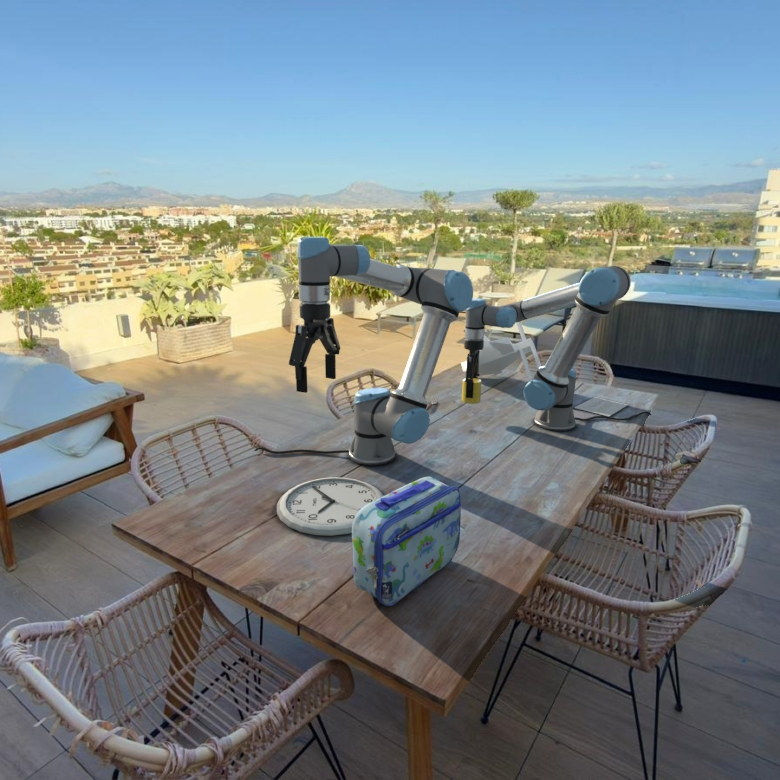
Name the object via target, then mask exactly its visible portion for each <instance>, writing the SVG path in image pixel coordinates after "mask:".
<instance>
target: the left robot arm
mask: <svg viewBox="0 0 780 780" xmlns="http://www.w3.org/2000/svg"><path fill="white" fill-rule="evenodd" d="M296 257H297V270H298V271H297V272H298V300H299V301H300V303H299V317H300V319H302V320H303V325H302V324H301V325H300V324H296V325H295V332H294V333H295V335H294V339H293V343H292V348H291V352H290V356H289V361H288V365H289V366H292V367H294V371H295V386H296V388H295V389H296V392H299V393H305V394H306V393H308V368H307V366H306V363H307V360H308V357H309V354H310V352H311V349H312V348H313V345H314V344H316V341H318V340H319V341H320V343H321V344H322V346H323V348H324V350H325V352H326V353H325V354H324V361H325V362H324V363H325V364H324V365H325V378H326V379H330V380H336V379H337V378H336V376H337V374H336V373H337V371H336V369H337V366H336V363H337V362H336V361H337V360H336V355H340V350H341V345H340V342H339V337H338V335H337V332H336V328H335V320H334V318H332V317H331V304H330V300H331V289H330V285H331V278H332V277H335V278H339V279H342V280H346V281H351V282H354V283H359V284H361V285H365V286H369V287H374V288H377V289H380V290H385V291H388V292H390V293H391V294H392V295H393V296H395V297H398V298H402V299H405V300H407V301H410V302H413V303H416V304H419V305H421V306H420V308H421V311H422V313H423V316H422V318H421V321H420V323H419V327H418V330H417V333H416V335H415V339H414V341H413V344H412V347H411V350H410V352H409V356H408V359H407V362H406V365H405V367H404V370H403V373H402V376H401V379H400V382H399V385H398V387H397V388H396V389H393V390H392V391H391V390H390V389H389V388H386V387H369V388H363V389H360V390H358V391H357V392H356V393H355V394H354V401H353V415H354V417H353V419H354V420H353V421H354V435H353V438H352V441H351V443H350V447H349V449H344V450H343V449H341V450H315V449H304V448H303V449H302V448H301V449H292V450H291V449H289V450H280V451H279V450H278V451H276V450H271V449H269V448H266V447H264V446H258V447H256V448H254V450H253V452H258V451H259V450H263V451H265V452H267V453H269V454H275V455H276V454H277V455H280V454H281V455H282V454H284V455H285V454H291V453H312V454H313V453H314V454H322V455H323V454H324V455H325V454H326V455H327V454H330V455H331V454H344V453H348V457H349V459H350V461H351V462H352V463H353V462H354V463H355V464H358V465H361V466H368V467H369V466H370V467H371V466H372V467H373V466H383V465H386V464H390V463H391V462H392V461H393V460H395V458H396V448H395V445H394V443H393V440H394V441H396V442H400V443H402V444H406V445H407V444H408V445H410V444H414V443H416V442H418V441H419V440H421V439H422V438H423V437H424V436H425V434H426V433H427V431H428V430H429V427H430V423H431V419H430V414H429V412H428V410H427V411H426V409H427V408H428V406H429V405H428V401H427V399H426V396H427V393H428V390H429V386H430V384H431V381H432V378H433V375H434V373H435V369H436V367H437V364H438V360H439V357H440V354H441V352H442V349H443V346H444V343H445V340H446V337H447V334H448V331H449V328H450V325H451V324H452V323H453V322H455V321H457V320H458V318H459V315H460V313H462V312H466V309H467V308H469V306H470V305H471V302H472V299H474V298H473V297H474V287H473V284H472V280H471V279H470V277H469V275H467V274H466V273H465V272H462V271H458V270H454V269H441V268H433V267H432V268H430V267H411V266H406V265H402V264H400V265H398V266H395V265H392V264H388V263H385V262H382V261H378V260H375V259H372V258H371V254H370V251H369V249H367V247H366V246H365V245H362V244H337V243H336V244H335V243H334V244H333V243H330V240H329V238H328V237H326V236H301V237H300V238H298V240H297V255H296ZM392 439H393V440H392Z"/></svg>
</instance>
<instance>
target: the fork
mask: <svg viewBox="0 0 780 780" xmlns="http://www.w3.org/2000/svg"><path fill="white" fill-rule="evenodd" d="M438 401H439V398H438V397H435V396H433V398H432V399H431V401H430V404H429V405H427V408H426V411H427V412H428V410H429V409H431V408H432V406H433V405H437V404H438Z"/></svg>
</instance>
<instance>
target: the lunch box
mask: <svg viewBox="0 0 780 780" xmlns="http://www.w3.org/2000/svg"><path fill="white" fill-rule="evenodd" d="M461 499H462V497H461V491H460V489H459V488H458V487H457V486H455V485H450V486H449V485H447V484H445V483H444V482H442V481H440V480H438V479H436V478H434V477H432V476H424V477H421V478H419V479H416V480H414V481H412V482H410V483H407V484H405V485H404V486H401V487H399V488H397V489H395V490H392V491H391V492H390V493H386V494H384V496H383V497H381V498H379V499H377V500H375V501H373V502H371V503H369V504H367V505H365V506H364V507H362V508H361V509H360V510H359V512H358V513H357V515H356V516H355V518H354V521H353V526H352V533H351V550H352V576H353V581H354V584H355V587H356V588H358V589H360V590H362V591H364V592H366V593H368V594H370V596H372V597H374V598H375V599H377V601H378V603H379V604H382V605H383V606H385V607H393V606H394V605H396V604H397V603H399V602H400V601H402V599H404V598H405V597H406V596H407V595H409V594H410V593H411V592H413V591H414V590H415V589H416V588H418V587H419V586H420V585H422V584H423V583H424V582H425V581H427V580H428V579H429V578H430V577H432V575H434V574H435V573H437V572H439V571H441V570H442V569H443V568H445V567H446V566H448V565H449V564H450V562H452V560H453V559H454V557H455V555H456V553H457V551H458V549H459V544H460V537H461V519H462V515H461V513H462V512H461V510H462V507H461V505H462V504H461V503H462V502H461Z"/></svg>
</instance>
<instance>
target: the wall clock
mask: <svg viewBox="0 0 780 780" xmlns="http://www.w3.org/2000/svg"><path fill="white" fill-rule="evenodd" d="M383 496H385V494H384V493H383V492H382V491H381V490H380V489H379V488H377V487H376V486H374V485H372V484H371V483H369V482H365V481H362V480H359V479H355V478H349V477H338V476H337V477H335V476H333V477H332V476H331V477H322V478H317V479H312V480H307V481H305V482H302V483H299V484H297V485H295V486H293V487H292V488H290V489H288V490H287V491H286V492H285V493H284V494H283V495H281V496H280V498H279V499H278V502H277V503H276V515H277V517H278V518H279V520H280V521H281V522H282V523H283V524H285V525H286V526H287V527H288V528H290V529H293V530H295V531H297V532H299V533H303V534H308V535H312V536H327V537H328V536H329V537H331V536H332V537H333V536H342V535H350V534H352V526H353V521H354V518H355V516H356V515H357V513H358V512H359V510H360V509H361V508H362V507H364V506H365V505H367V504H369V503H371V502H373V501H375V500H377V499H379V498H381V497H383Z"/></svg>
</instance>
